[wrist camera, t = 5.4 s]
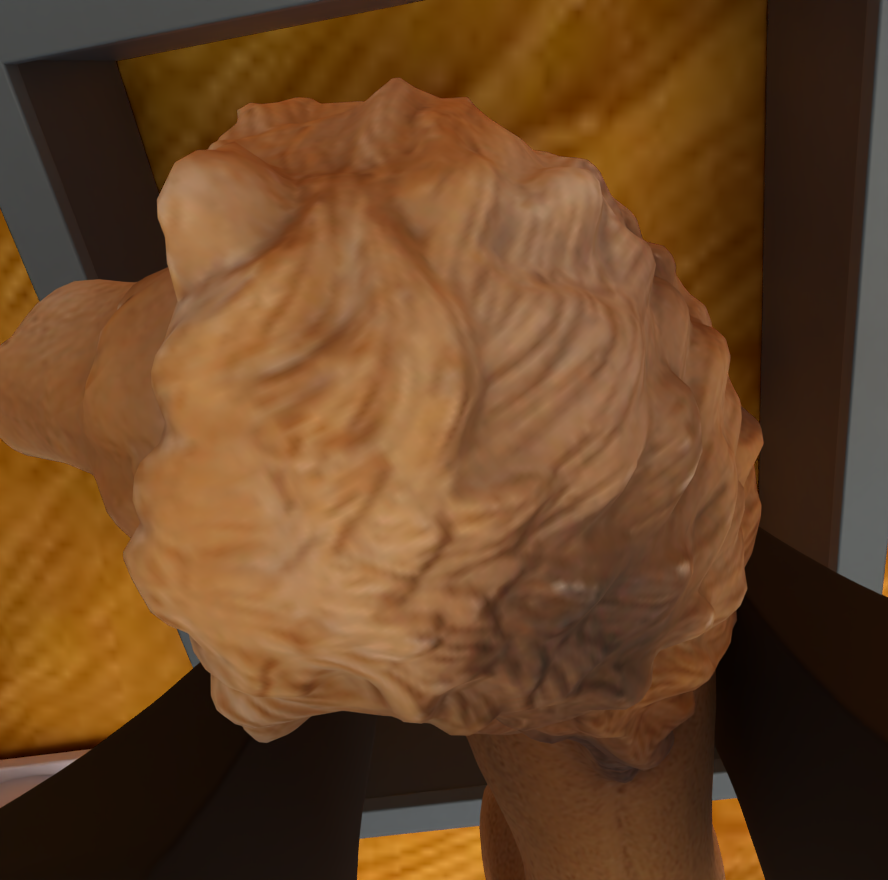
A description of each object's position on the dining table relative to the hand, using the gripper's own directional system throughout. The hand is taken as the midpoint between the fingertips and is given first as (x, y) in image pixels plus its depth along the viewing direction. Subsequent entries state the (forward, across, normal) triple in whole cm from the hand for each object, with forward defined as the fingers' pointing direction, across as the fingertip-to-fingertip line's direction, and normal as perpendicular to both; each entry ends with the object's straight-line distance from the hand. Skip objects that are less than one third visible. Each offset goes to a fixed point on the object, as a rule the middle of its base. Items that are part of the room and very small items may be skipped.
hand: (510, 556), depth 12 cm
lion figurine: (+2, 0, 0) cm, 2 cm away
